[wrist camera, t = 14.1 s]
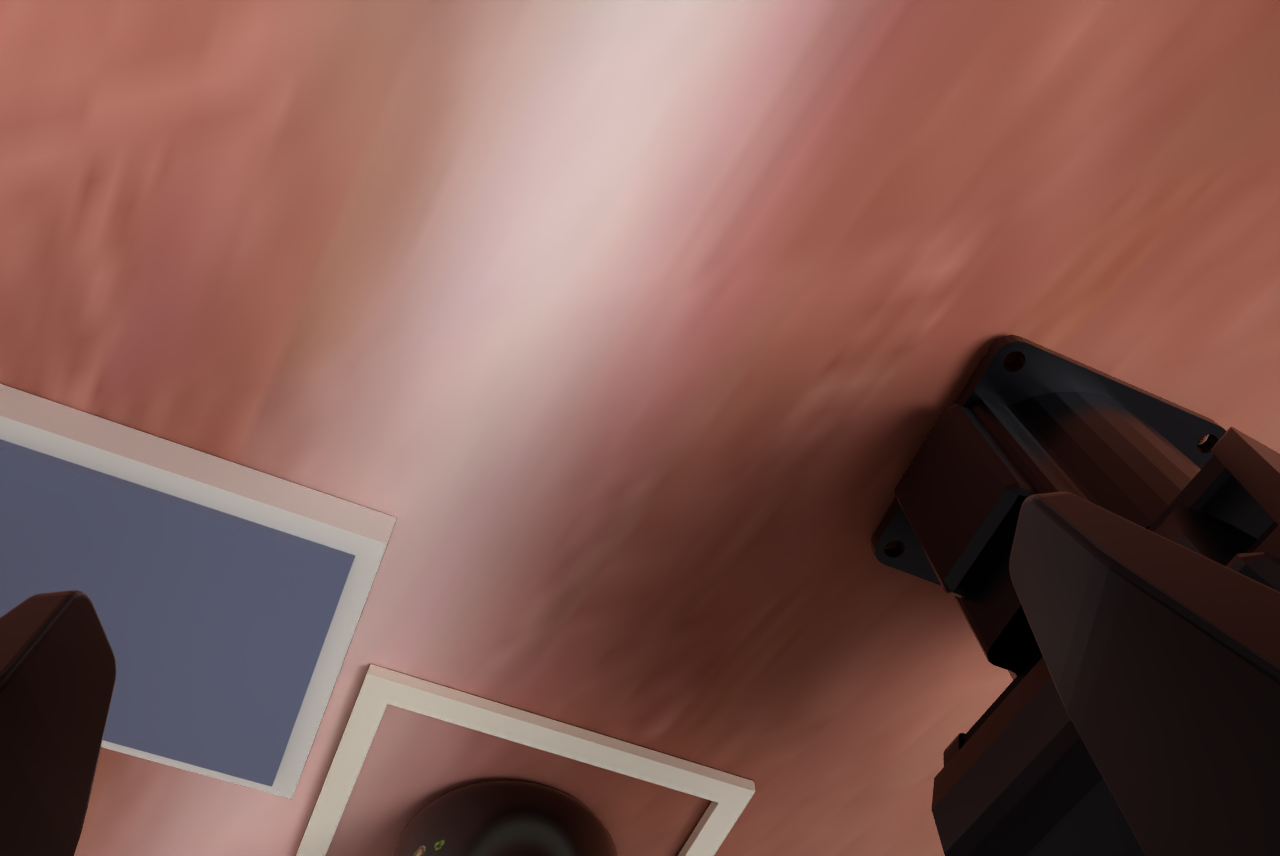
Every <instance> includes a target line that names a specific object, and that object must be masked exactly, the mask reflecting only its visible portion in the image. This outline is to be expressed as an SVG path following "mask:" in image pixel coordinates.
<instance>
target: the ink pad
mask: <svg viewBox="0 0 1280 856" xmlns="http://www.w3.org/2000/svg"><path fill="white" fill-rule="evenodd" d="M396 519H397V518H396V517H393V516H390V515H387V514H384V513H381V512H378V511H375V510H372V509H369V508H366V507H363V506H360V505H358V504H355V503H352V502H349V501H346V500H343V499H340V498H337V497H334V496H331V495H328V494H325V493H322V492H319V491H316V490H313V489H310V488H307V487H304V486H301V485H298V484H295V483H292V482H290V481H287V480H284V479H281V478H278V477H275V476H272V475H269V474H266V473H263V472H260V471H257V470H254V469H251V468H248V467H245V466H242V465H239V464H236V463H233V462H230V461H227V460H224V459H222V458H219V457H216V456H213V455H210V454H207V453H204V452H201V451H198V450H195V449H192V448H189V447H186V446H183V445H180V444H177V443H174V442H171V441H168V440H165V439H162V438H159V437H156V436H154V435H151V434H148V433H145V432H142V431H139V430H136V429H133V428H130V427H127V426H124V425H121V424H118V423H115V422H112V421H109V420H106V419H103V418H100V417H97V416H94V415H91V414H88V413H86V412H83V411H80V410H77V409H74V408H71V407H68V406H65V405H62V404H59V403H56V402H53V401H50V400H47V399H44V398H41V397H38V396H35V395H32V394H29V393H26V392H23V391H20V390H18V389H15V388H12V387H9V386H6V385H3V384H0V618H1V617H2V616H3V615H5V614H6V613H8V612H9V611H10V610H12V609H13V608H15V607H16V606H18V605H19V604H20V603H22V602H23V601H25V600H26V599H28V598H29V597H31V596H33V595H36V594H40V593H49V592H59V591H69V590H79V591H82V592H84V593H86V595H87V596H88V597H89V598H90V599H91V601H92V603H93V605H94V607H95V610H96V612H97V615H98V617H99V619H100V622H101V624H102V626H103V629H104V631H105V633H106V636H107V638H108V640H109V643H110V645H111V648H112V650H113V653H114V656H115V660H116V680H115V686H114V690H113V695H112V699H111V704H110V708H109V713H108V717H107V722H106V726H105V731H104V735H103V740H102V744H101V747H103V748H106V749H110V750H114V751H117V752H121V753H124V754H128V755H132V756H135V757H139V758H143V759H146V760H150V761H154V762H157V763H161V764H165V765H168V766H172V767H176V768H179V769H183V770H187V771H190V772H194V773H198V774H201V775H205V776H209V777H212V778H216V779H220V780H223V781H227V782H230V783H234V784H238V785H241V786H245V787H249V788H252V789H256V790H260V791H263V792H267V793H271V794H274V795H278V796H282V797H285V798H289V799H292V797H293V794H294V791H295V789H296V786H297V784H298V781H299V778H300V776H301V773H302V770H303V768H304V765H305V762H306V760H307V757H308V754H309V752H310V749H311V746H312V744H313V741H314V738H315V736H316V733H317V730H318V728H319V725H320V722H321V720H322V717H323V714H324V712H325V709H326V706H327V704H328V701H329V698H330V696H331V693H332V690H333V688H334V685H335V682H336V680H337V677H338V674H339V672H340V669H341V666H342V664H343V661H344V658H345V656H346V653H347V650H348V648H349V645H350V642H351V640H352V637H353V634H354V632H355V629H356V626H357V624H358V621H359V618H360V616H361V613H362V610H363V608H364V605H365V602H366V600H367V597H368V594H369V591H370V589H371V586H372V583H373V581H374V578H375V575H376V573H377V570H378V567H379V565H380V562H381V559H382V557H383V554H384V551H385V549H386V546H387V543H388V541H389V538H390V535H391V533H392V530H393V527H394V525H395V522H396Z"/></svg>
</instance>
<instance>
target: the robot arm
mask: <svg viewBox="0 0 1280 856" xmlns="http://www.w3.org/2000/svg"><path fill="white" fill-rule="evenodd" d="M1014 351H1017V352H1019V356H1018V359H1017V360H1016V361H1015V362H1014V363H1013V364H1010V365H1003V362H1004V359H1005V357H1006V356H1007V355H1008V354H1009V353H1011V352H1014ZM1208 434H1209V437H1208V439H1207V440H1206V441H1205V442H1204V443H1203V444H1201V445H1198V446H1197V443H1198V441H1199V439H1201V438H1202V437H1203V436H1205V435H1208ZM895 494H896V499H895V500H894V502H893V503H892V505H891V507H890V508H889V510H888V511H887V513H886V515H885V516H884V518H883V519H882V521H881V523H880V524H879V526H878V527H877V529H876V531H875V532H874V534H873V536H872V539H871V546H872V549H873V551H874V554H875V556H876V557H877V559H878V560H879V561H880V562H881V563H883V564H885V565H887V566H890V567H893V568H896V569H898V570H901V571H904V572H906V573H909V574H912V575H915V576H917V577H920V578H923V579H926V580H928V581H931V582H934V583H937V584H939V585H942V587H943V589H944V591H946V592H947V593H949V594H951V595H953V596H954V597H955V599H956V601H957V603H958V605H959V607H960V609H961V611H962V612H963V614H964V616H965V618H966V620H967V622H968V624H969V626H970V627H971V629H972V631H973V633H974V635H975V637H976V639H977V641H978V642H979V644H980V646H981V648H982V650H983V652H984V654H985V656H986V657H987V659H988V661H989V662H990V663H992V664H993V665H995V666H998V667H1001V668H1004V669H1007V670H1008V671H1009V673H1010V675H1011V677H1012V678H1013V682H1012V683H1011V684H1010V685H1009V686H1008V687H1007V688H1006V689H1005V691H1004V692H1003V693H1002V694H1001V695H1000V696H999V697H998V698H997V700H996V701H995V702H994V703H993V704H992V705H991V706H990V707H989V709H988V710H987V711H986V712H985V713H984V714H983V715H982V716H981V718H980V719H979V720H978V721H977V722H976V723H975V724H974V725H973V727H972V728H971V729H970V730H969V731H968V732H967V733H966V734H964V733H960V734H959V735H958V736H957V737H956V738H955V739H954V740H953V741H952V743H951V744H950V745H949V746H948V747H947V748H946V749H945V751H944V768H943V769H942V770H941V771H940V772H939V773H938V775H937V776H936V777H935V778H934V789H933V800H932V812H933V816H934V819H935V823H936V826H937V830H938V833H939V837H940V840H941V844H942V847H943V851H944V854H945V856H1280V454H1279V453H1277V452H1275V451H1274V450H1272V449H1270V448H1268V447H1267V446H1265V445H1263V444H1261V443H1259V442H1258V441H1256V440H1254V439H1252V438H1251V437H1249V436H1247V435H1245V434H1244V433H1242V432H1240V431H1238V430H1236V429H1235V428H1233V427H1230V428H1229V429H1228V430H1227V432H1226V430H1225V429H1223V428H1222V427H1221V426H1219V425H1218V424H1217V423H1215V422H1214V421H1213V420H1211V419H1209V418H1207V417H1205V416H1202V415H1200V414H1198V413H1195V412H1193V411H1191V410H1189V409H1186V408H1184V407H1182V406H1179V405H1177V404H1175V403H1172V402H1170V401H1168V400H1165V399H1163V398H1161V397H1158V396H1156V395H1154V394H1152V393H1149V392H1147V391H1145V390H1142V389H1140V388H1138V387H1135V386H1133V385H1131V384H1128V383H1126V382H1124V381H1121V380H1119V379H1117V378H1114V377H1112V376H1110V375H1108V374H1105V373H1103V372H1101V371H1098V370H1096V369H1094V368H1091V367H1089V366H1087V365H1084V364H1082V363H1080V362H1077V361H1075V360H1073V359H1071V358H1068V357H1066V356H1064V355H1061V354H1059V353H1057V352H1054V351H1052V350H1050V349H1047V348H1045V347H1043V346H1040V345H1038V344H1036V343H1034V342H1031V341H1029V340H1027V339H1024V338H1022V337H1019V336H1014V335H1009V336H1003V337H1002V338H1000V339H998V340H996V341H995V342H994V343H993V344H992V346H991V347H990V348H989V349H988V351H987V353H986V354H985V356H984V358H983V359H982V361H981V362H980V364H979V366H978V367H977V369H976V370H975V372H974V374H973V375H972V377H971V378H970V380H969V382H968V383H967V385H966V386H965V388H964V390H963V391H962V393H961V394H960V396H959V398H958V399H957V401H956V402H955V404H954V405H952V406H950V407H948V408H946V409H944V411H943V412H942V414H941V415H940V417H939V419H938V420H937V422H936V423H935V425H934V427H933V428H932V430H931V432H930V433H929V435H928V436H927V438H926V440H925V441H924V443H923V444H922V446H921V448H920V449H919V451H918V453H917V454H916V456H915V457H914V459H913V461H912V462H911V464H910V465H909V467H908V469H907V470H906V472H905V473H904V475H903V477H902V478H901V480H900V482H899V483H898V485H897V486H896V488H895ZM894 540H895V541H900V543H899V544H898V545H897V546H896V547H895V548H892V549H886V548H885V546H886V545H887V544H888V543H889V542H891V541H894ZM115 680H116V660H115V656H114V653H113V650H112V648H111V645H110V643H109V640H108V638H107V636H106V633H105V631H104V629H103V626H102V624H101V622H100V619H99V617H98V615H97V612H96V610H95V607H94V605H93V603H92V601H91V599H90V598H89V597H88V596H87V595H86V593H84V592H82V591H79V590H69V591H59V592H49V593H40V594H36V595H33V596H31V597H29V598H28V599H26V600H25V601H23V602H22V603H20V604H19V605H18V606H16V607H15V608H13V609H12V610H10V611H9V612H8V613H6V614H5V615H3V616H2V617H1V618H0V856H74V853H75V850H76V847H77V844H78V841H79V838H80V834H81V831H82V827H83V823H84V819H85V815H86V811H87V808H88V803H89V799H90V794H91V790H92V785H93V780H94V776H95V771H96V767H97V762H98V758H99V753H100V749H101V744H102V740H103V735H104V731H105V726H106V722H107V717H108V713H109V708H110V704H111V699H112V695H113V690H114V686H115Z"/></svg>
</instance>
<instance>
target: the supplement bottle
mask: <svg viewBox="0 0 1280 856" xmlns="http://www.w3.org/2000/svg"><path fill="white" fill-rule="evenodd" d="M394 856H617V852H616V848H615V846H614V843H613V841H612V838H611V836H610V834H609V833H608V831H607V829H606V828H605V827H604V825H603V824H602V822H601V821H600V820H599V819H598V818H597V817H596V816H595V814H594V813H592V812H591V811H590V810H589V809H588V808H587V807H586V806H584V805H583V804H581V803H580V802H579V801H577V800H576V799H574V798H572V797H571V796H569V795H567V794H565V793H563V792H560V791H558V790H555V789H553V788H550V787H547V786H543V785H540V784H535V783H531V782H524V781H513V780H497V781H486V782H480V783H475V784H470V785H467V786H463V787H460V788H457V789H455V790H453V791H450V792H448V793H446V794H444V795H442V796H440V797H438V798H437V799H435V800H434V801H432V802H431V803H429V804H428V805H427V806H425V807H424V808H423V809H422V810H421V811H420V812H419V813H418V814H417V815H416V816H415V817H414V818H413V819H412V820H411V821H410V823H409V824H408V825H407V827H406V828H405V830H404V832H403V833H402V835H401V837H400V839H399V841H398V844H397V847H396V850H395V853H394Z"/></svg>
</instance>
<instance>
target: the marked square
mask: <svg viewBox="0 0 1280 856" xmlns="http://www.w3.org/2000/svg"><path fill="white" fill-rule="evenodd" d="M387 704H390V705H393V706H396V707H400V708H403V709H406V710H410V711H413V712H416V713H420V714H423V715H426V716H430V717H433V718H437V719H440V720H443V721H447V722H450V723H453V724H457V725H460V726H463V727H467V728H470V729H473V730H477V731H480V732H483V733H487V734H490V735H493V736H497V737H500V738H503V739H507V740H510V741H513V742H517V743H520V744H524V745H527V746H530V747H534V748H537V749H540V750H544V751H547V752H550V753H554V754H557V755H560V756H564V757H567V758H570V759H574V760H577V761H580V762H584V763H587V764H590V765H594V766H597V767H600V768H604V769H607V770H611V771H614V772H617V773H621V774H624V775H627V776H631V777H634V778H637V779H641V780H644V781H647V782H651V783H654V784H657V785H661V786H664V787H667V788H671V789H674V790H677V791H681V792H684V793H687V794H691V795H694V796H698V797H701V798H704V799H708V800H711V801H712V802H711V803H710V805H709V807H708V808H707V810H706V811H705V813H704V815H703V816H702V818H701V819H700V821H699V823H698V824H697V826H696V827H695V829H694V831H693V832H692V834H691V835H690V837H689V839H688V840H687V842H686V843H685V845H684V846H683V848H682V850H681V851H680V853H679V854H678V856H714V855H715V853H716V852H717V850H718V849H719V847H720V845H721V844H722V842H723V841H724V839H725V838H726V836H727V835H728V833H729V832H730V830H731V829H732V827H733V825H734V824H735V822H736V821H737V819H738V818H739V816H740V815H741V813H742V812H743V810H744V808H745V807H746V805H747V804H748V802H749V801H750V799H751V798H752V796H753V795H754V793H755V786H754V781H752V780H748V779H745V778H742V777H739V776H735V775H732V774H729V773H725V772H722V771H719V770H716V769H712V768H709V767H706V766H703V765H699V764H696V763H693V762H690V761H686V760H683V759H680V758H676V757H673V756H670V755H667V754H663V753H660V752H657V751H654V750H650V749H647V748H644V747H641V746H637V745H634V744H631V743H627V742H624V741H621V740H618V739H614V738H611V737H608V736H605V735H601V734H598V733H595V732H592V731H588V730H585V729H582V728H578V727H575V726H572V725H569V724H565V723H562V722H559V721H556V720H552V719H549V718H546V717H543V716H539V715H536V714H533V713H529V712H526V711H523V710H520V709H516V708H513V707H510V706H507V705H503V704H500V703H497V702H494V701H490V700H487V699H484V698H480V697H477V696H474V695H471V694H467V693H464V692H461V691H458V690H454V689H451V688H448V687H445V686H441V685H438V684H435V683H431V682H428V681H425V680H422V679H418V678H415V677H412V676H409V675H405V674H402V673H399V672H396V671H392V670H389V669H386V668H382V667H379V666H376V665H373V664H370V667H369V669H368V672H367V674H366V677H365V679H364V682H363V684H362V687H361V690H360V692H359V695H358V697H357V700H356V702H355V705H354V708H353V710H352V713H351V715H350V718H349V720H348V723H347V726H346V728H345V731H344V733H343V736H342V738H341V741H340V743H339V746H338V749H337V751H336V754H335V756H334V759H333V761H332V764H331V767H330V769H329V772H328V774H327V777H326V779H325V782H324V784H323V787H322V790H321V792H320V795H319V797H318V800H317V802H316V805H315V808H314V810H313V813H312V815H311V818H310V820H309V823H308V826H307V828H306V831H305V833H304V836H303V838H302V841H301V843H300V846H299V849H298V851H297V854H296V856H325V855H326V853H327V851H328V848H329V846H330V843H331V841H332V838H333V836H334V833H335V831H336V829H337V826H338V824H339V821H340V819H341V816H342V814H343V811H344V809H345V806H346V804H347V802H348V799H349V797H350V794H351V792H352V789H353V787H354V784H355V782H356V780H357V777H358V775H359V772H360V770H361V767H362V765H363V762H364V760H365V757H366V755H367V753H368V750H369V748H370V745H371V743H372V740H373V738H374V735H375V733H376V731H377V728H378V726H379V723H380V721H381V718H382V716H383V713H384V711H385V709H386V706H387Z"/></svg>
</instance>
